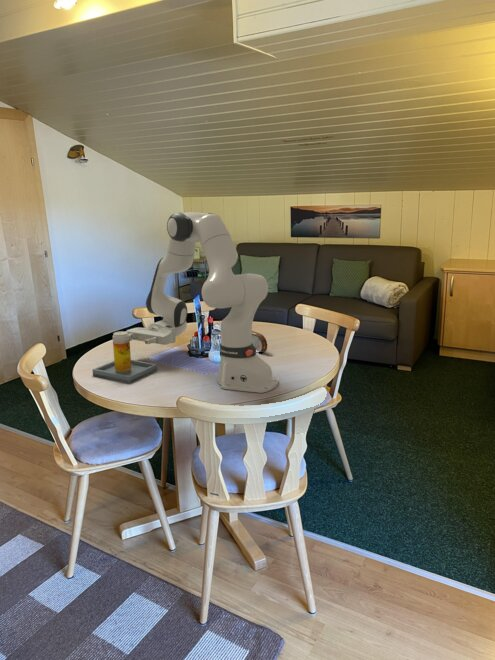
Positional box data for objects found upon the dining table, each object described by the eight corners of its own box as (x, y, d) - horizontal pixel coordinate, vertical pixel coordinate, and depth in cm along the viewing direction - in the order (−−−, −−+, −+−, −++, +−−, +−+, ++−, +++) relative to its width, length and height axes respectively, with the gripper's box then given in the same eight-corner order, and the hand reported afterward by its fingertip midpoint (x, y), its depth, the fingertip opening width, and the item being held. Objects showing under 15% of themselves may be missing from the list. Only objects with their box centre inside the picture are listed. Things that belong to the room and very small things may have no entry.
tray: (157, 370, 188) (157, 364, 187) (129, 383, 174) (129, 377, 174) (121, 363, 196) (121, 357, 195) (92, 375, 182) (92, 369, 182)
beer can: (126, 374, 181) (124, 335, 177) (112, 372, 182) (109, 334, 179) (134, 369, 187) (131, 331, 183) (120, 367, 188) (117, 330, 184)
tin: (267, 354, 208) (267, 335, 206) (261, 355, 207) (262, 336, 204) (248, 346, 220) (248, 328, 218) (242, 347, 219) (242, 329, 216)
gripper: (138, 322, 205) (115, 329, 193) (178, 327, 196) (157, 335, 184) (139, 336, 206) (116, 344, 194) (178, 342, 197) (157, 351, 185)
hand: (136, 340), depth 189 cm, fingers open, 8 cm apart
